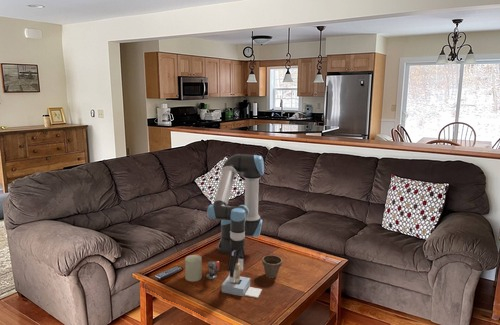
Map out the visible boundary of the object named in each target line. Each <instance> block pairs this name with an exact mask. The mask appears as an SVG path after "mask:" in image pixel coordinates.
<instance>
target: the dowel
mask: <svg viewBox="0 0 500 325" xmlns="http://www.w3.org/2000/svg"><path fill="white" fill-rule="evenodd" d="M240 276H241V270H240V263H238V262H236V265H235V282H234V283H233V284H238V285H239V284H240Z"/></svg>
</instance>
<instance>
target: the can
mask: <svg viewBox="0 0 500 325" xmlns="http://www.w3.org/2000/svg"><path fill="white" fill-rule="evenodd" d="M184 261H185V263H184V264H185V267H184V269H185V270H184V272H185V277H184V278H185V280H186V281H189V282H198V281H200V280H201V279H202V277H203V275H202V256H201V255H199V254H190V255H187V256H186V257H185V258H184Z"/></svg>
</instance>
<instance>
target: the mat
mask: <svg viewBox="0 0 500 325" xmlns="http://www.w3.org/2000/svg"><path fill="white" fill-rule="evenodd" d="M262 291H263V288H258V287H252V286H249V288H248V289H247V291H246V293H245V294H244V297H249V298H255V299H258V298H259V297H260V295H261V293H262Z"/></svg>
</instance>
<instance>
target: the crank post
mask: <svg viewBox="0 0 500 325" xmlns="http://www.w3.org/2000/svg"><path fill="white" fill-rule="evenodd" d="M208 268H209V267H208ZM208 270H209V272H208V273H207V274H206V276H205V277H206V279H209V280H215V279H217V278H218V275H217V273H216V272H215V270H214V269H213V268H209V269H208Z"/></svg>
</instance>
